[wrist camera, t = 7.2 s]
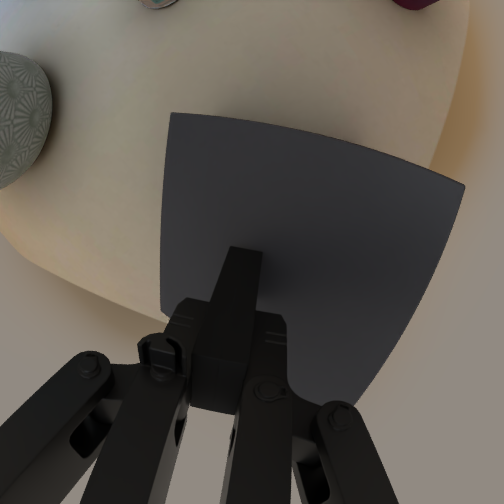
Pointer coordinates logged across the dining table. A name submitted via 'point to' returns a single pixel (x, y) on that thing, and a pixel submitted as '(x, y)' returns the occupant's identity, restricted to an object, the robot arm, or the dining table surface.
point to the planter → (22, 114)
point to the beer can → (156, 3)
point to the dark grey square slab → (305, 239)
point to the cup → (415, 3)
